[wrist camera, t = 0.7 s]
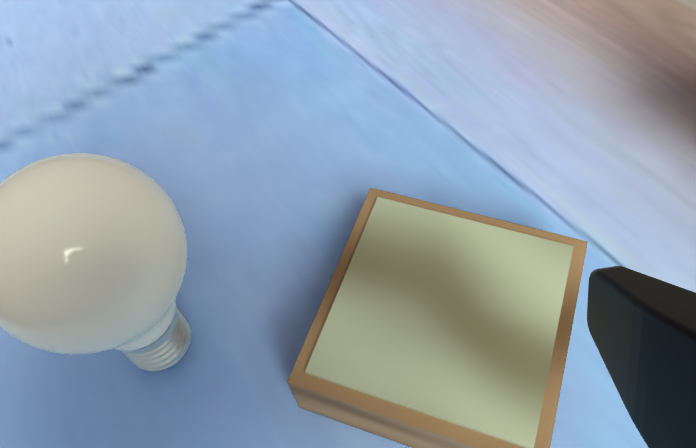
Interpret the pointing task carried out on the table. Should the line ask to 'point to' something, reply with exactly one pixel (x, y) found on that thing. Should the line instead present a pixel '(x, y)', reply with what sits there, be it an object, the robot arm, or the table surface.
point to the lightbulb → (92, 260)
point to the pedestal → (443, 328)
